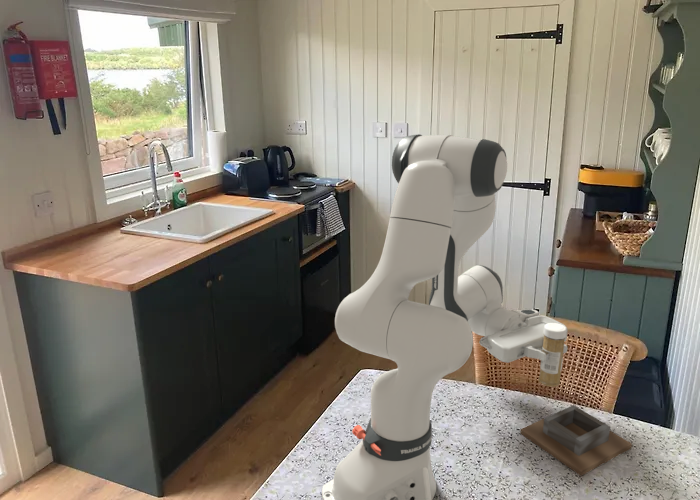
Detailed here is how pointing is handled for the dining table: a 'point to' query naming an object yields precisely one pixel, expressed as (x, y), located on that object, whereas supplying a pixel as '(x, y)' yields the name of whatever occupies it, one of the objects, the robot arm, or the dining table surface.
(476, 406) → the dining table surface
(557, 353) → the sprinkles bottle
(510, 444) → the dining table surface
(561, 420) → the socket base
